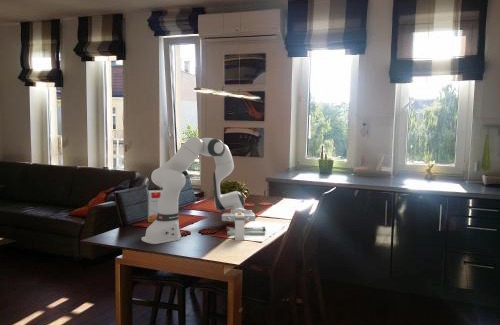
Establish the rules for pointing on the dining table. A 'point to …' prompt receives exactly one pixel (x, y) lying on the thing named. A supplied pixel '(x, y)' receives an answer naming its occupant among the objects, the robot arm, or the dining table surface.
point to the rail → (248, 229)
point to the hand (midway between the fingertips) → (238, 220)
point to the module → (239, 226)
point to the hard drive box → (153, 203)
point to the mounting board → (248, 232)
